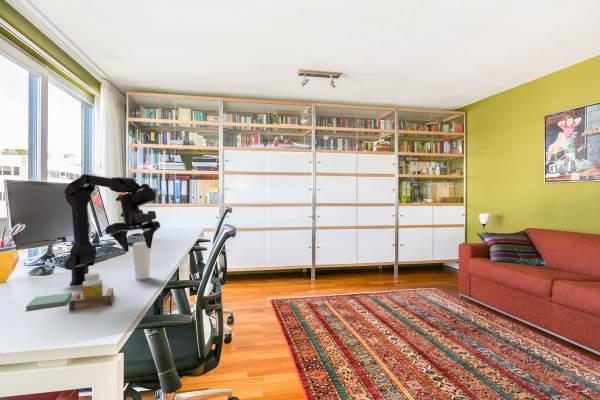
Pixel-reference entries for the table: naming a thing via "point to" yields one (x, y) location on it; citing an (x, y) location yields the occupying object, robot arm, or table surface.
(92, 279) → the supplement bottle
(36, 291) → the table surface
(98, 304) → the frame
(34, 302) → the green mat
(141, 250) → the white tall cylinder
